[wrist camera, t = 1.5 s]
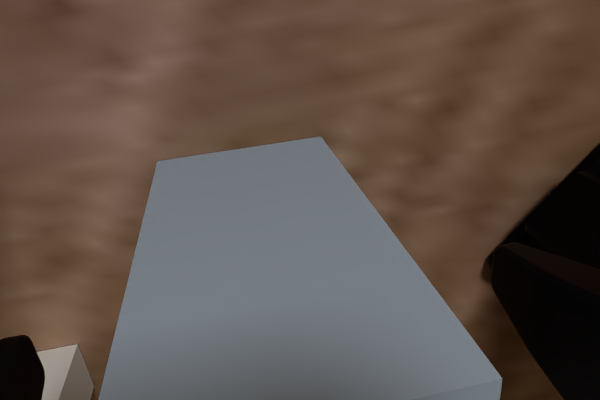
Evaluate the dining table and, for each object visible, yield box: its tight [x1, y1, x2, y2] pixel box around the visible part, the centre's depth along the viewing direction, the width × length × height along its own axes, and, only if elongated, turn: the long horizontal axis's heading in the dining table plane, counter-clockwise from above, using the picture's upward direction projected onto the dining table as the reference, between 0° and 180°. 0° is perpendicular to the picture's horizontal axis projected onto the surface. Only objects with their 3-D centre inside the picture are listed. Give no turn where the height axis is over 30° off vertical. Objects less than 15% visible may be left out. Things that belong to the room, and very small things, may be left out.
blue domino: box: [98, 137, 502, 400], centre depth 10 cm, size 2×5×10 cm, turn 95°
